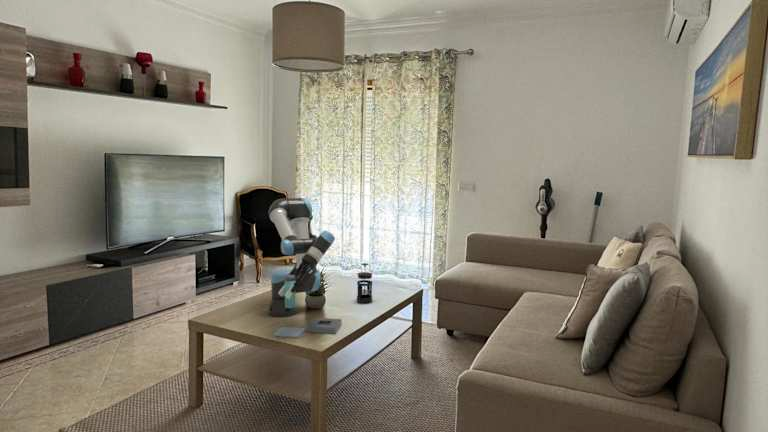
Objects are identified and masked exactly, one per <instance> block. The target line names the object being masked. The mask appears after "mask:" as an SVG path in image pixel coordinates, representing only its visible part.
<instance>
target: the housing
mask: <svg viewBox="0 0 768 432" xmlns="http://www.w3.org/2000/svg"><path fill="white" fill-rule="evenodd" d="M342 324H343V322H342V318H328V317H327V318H325V317H314V318H313V320H311V322H309V324H308V325H307V328H306V329H307V330H306V331H307V333H313V332H314V333H317V334H329V333H330V334H331V335H336V334H337V332H338V331H339V329H340V328H341V326H342Z"/></svg>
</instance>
